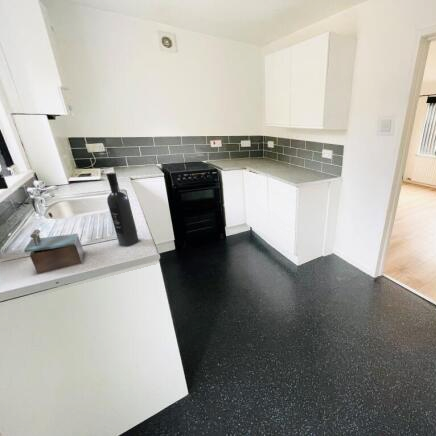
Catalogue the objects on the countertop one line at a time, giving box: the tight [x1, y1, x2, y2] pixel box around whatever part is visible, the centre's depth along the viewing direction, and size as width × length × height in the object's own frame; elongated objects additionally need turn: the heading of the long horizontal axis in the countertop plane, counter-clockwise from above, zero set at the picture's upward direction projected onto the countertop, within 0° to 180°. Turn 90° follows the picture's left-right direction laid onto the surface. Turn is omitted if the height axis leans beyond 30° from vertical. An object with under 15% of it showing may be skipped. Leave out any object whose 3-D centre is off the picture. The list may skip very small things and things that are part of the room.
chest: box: [29, 236, 85, 275], centre depth 88 cm, size 12×11×8 cm
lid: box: [23, 229, 79, 253], centre depth 85 cm, size 12×11×5 cm
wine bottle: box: [106, 172, 140, 247], centre depth 98 cm, size 6×6×30 cm
